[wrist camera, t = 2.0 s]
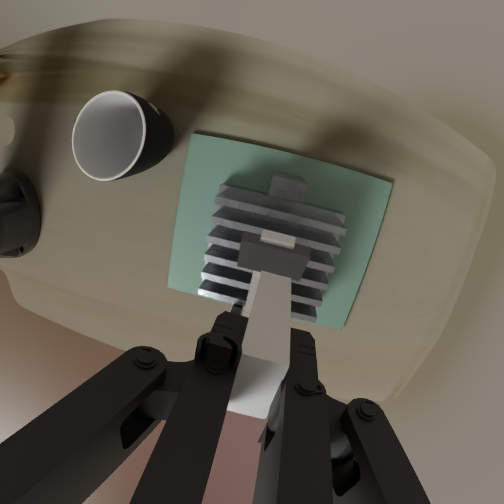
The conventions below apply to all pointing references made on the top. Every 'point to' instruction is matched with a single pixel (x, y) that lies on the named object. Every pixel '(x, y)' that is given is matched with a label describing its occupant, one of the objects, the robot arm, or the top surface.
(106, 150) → the mug
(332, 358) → the top surface
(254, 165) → the board
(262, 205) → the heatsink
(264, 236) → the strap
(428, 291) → the top surface
